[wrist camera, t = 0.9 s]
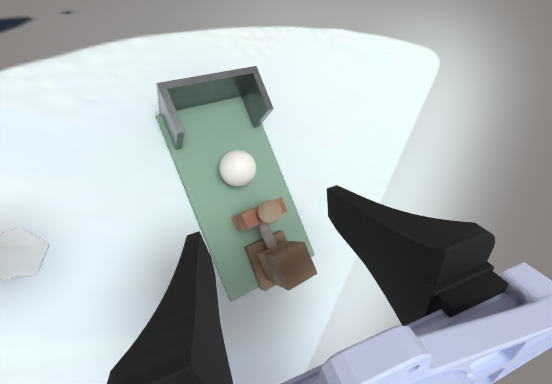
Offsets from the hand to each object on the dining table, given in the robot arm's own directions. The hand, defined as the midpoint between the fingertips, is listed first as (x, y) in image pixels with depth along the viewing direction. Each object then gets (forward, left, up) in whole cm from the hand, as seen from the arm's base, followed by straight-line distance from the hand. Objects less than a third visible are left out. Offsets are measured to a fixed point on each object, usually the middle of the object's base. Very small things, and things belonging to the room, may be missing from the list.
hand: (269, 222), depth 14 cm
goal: (+10, -3, -13) cm, 17 cm away
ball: (+5, -3, -11) cm, 12 cm away
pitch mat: (+3, -3, -13) cm, 14 cm away
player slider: (-3, -3, -12) cm, 13 cm away
